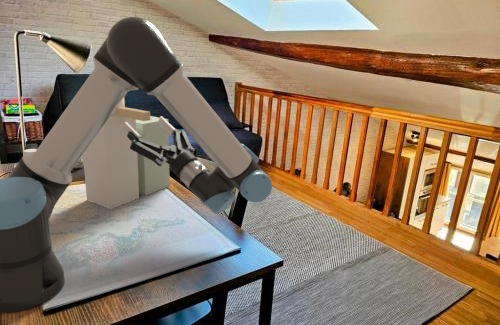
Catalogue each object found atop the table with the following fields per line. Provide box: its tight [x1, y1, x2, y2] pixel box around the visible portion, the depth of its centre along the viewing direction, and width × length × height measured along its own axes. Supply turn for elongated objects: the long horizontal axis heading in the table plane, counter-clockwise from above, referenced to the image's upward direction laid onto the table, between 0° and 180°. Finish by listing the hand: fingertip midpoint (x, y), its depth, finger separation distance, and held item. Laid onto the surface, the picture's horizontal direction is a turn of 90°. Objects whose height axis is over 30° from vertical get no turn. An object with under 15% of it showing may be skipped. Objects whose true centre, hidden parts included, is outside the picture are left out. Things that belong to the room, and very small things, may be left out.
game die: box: [71, 155, 84, 171], centre depth 152 cm, size 9×8×10 cm
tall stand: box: [83, 116, 140, 210], centre depth 120 cm, size 12×12×30 cm
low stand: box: [136, 115, 171, 196], centre depth 133 cm, size 12×12×26 cm
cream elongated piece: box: [111, 97, 151, 121], centre depth 111 cm, size 20×8×6 cm, turn 58°
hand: (142, 122), depth 108 cm, fingers open, 13 cm apart
